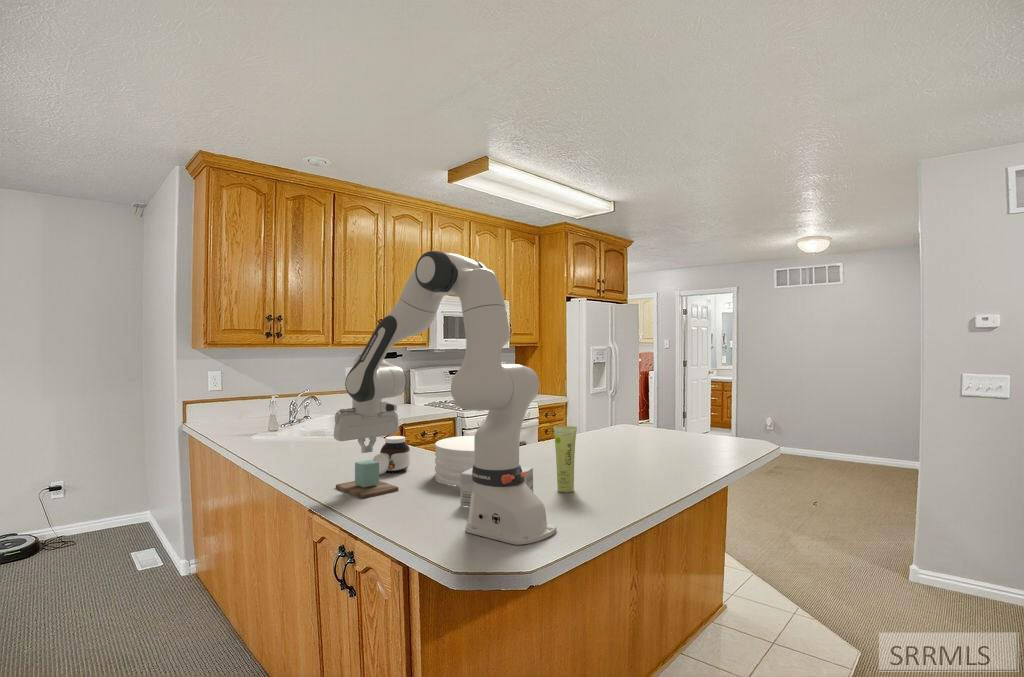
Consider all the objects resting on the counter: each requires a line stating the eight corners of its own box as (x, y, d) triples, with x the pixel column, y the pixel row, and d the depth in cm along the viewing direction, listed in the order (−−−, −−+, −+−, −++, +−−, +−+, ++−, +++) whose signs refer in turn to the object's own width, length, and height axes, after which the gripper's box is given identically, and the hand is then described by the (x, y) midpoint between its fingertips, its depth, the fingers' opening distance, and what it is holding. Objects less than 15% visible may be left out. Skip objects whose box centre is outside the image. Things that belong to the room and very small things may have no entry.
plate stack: (420, 484, 165) (420, 447, 166) (454, 465, 192) (454, 433, 192) (504, 491, 157) (504, 453, 158) (528, 470, 184) (528, 437, 184)
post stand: (398, 490, 157) (398, 465, 157) (362, 498, 148) (362, 472, 149) (371, 480, 168) (371, 457, 168) (335, 487, 160) (336, 463, 160)
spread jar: (412, 468, 185) (412, 436, 186) (402, 476, 174) (402, 441, 174) (379, 468, 187) (379, 435, 187) (367, 475, 175) (368, 441, 175)
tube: (559, 493, 154) (559, 427, 155) (552, 489, 159) (553, 424, 159) (576, 492, 156) (576, 426, 156) (570, 487, 161) (570, 424, 161)
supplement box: (534, 500, 148) (534, 467, 148) (518, 514, 136) (518, 478, 136) (479, 494, 154) (479, 462, 154) (459, 507, 142) (459, 472, 142)
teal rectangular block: (379, 484, 158) (379, 462, 159) (363, 487, 155) (363, 465, 155) (370, 481, 162) (370, 459, 162) (354, 484, 158) (355, 462, 159)
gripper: (340, 410, 149) (339, 459, 149) (401, 405, 164) (401, 449, 164) (330, 408, 154) (329, 455, 154) (390, 403, 168) (390, 446, 168)
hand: (366, 452), depth 159 cm, fingers closed
